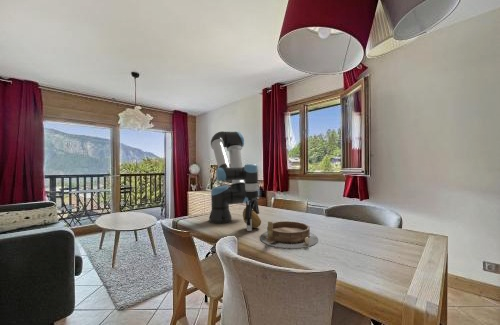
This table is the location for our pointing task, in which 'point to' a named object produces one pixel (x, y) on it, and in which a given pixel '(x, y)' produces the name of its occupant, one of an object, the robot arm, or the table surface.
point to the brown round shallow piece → (287, 231)
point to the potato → (253, 219)
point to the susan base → (292, 245)
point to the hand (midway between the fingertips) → (252, 227)
